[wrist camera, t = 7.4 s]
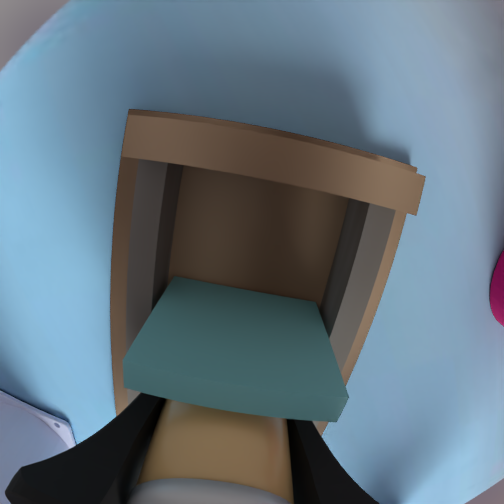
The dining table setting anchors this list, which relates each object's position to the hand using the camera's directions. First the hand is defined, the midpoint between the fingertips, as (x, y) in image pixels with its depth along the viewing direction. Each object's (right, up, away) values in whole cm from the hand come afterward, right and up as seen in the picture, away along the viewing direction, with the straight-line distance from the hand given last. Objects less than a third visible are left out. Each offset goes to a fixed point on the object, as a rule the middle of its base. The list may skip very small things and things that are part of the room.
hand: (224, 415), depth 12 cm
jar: (0, +1, +2) cm, 2 cm away
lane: (0, +3, +3) cm, 5 cm away
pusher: (+1, +4, +2) cm, 5 cm away
